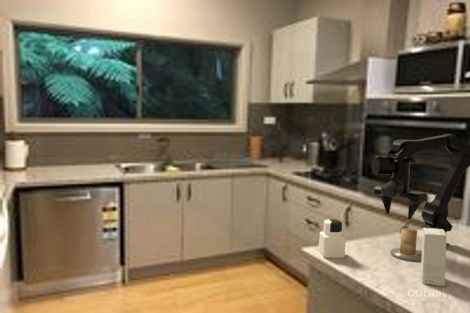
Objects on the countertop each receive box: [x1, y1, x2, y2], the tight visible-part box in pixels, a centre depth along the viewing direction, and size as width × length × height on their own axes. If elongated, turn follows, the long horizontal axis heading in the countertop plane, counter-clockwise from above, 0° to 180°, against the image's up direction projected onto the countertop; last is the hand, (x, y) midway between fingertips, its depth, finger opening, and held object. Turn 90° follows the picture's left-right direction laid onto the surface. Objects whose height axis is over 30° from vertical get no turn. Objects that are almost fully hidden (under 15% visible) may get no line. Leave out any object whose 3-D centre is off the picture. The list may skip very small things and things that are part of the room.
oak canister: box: [399, 227, 418, 256], centre depth 140 cm, size 5×5×8 cm
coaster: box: [390, 247, 422, 262], centre depth 140 cm, size 11×11×1 cm
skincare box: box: [420, 227, 448, 287], centre depth 119 cm, size 8×6×15 cm
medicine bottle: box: [318, 218, 346, 259], centre depth 139 cm, size 7×7×12 cm
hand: (398, 216), depth 150 cm, fingers open, 9 cm apart
